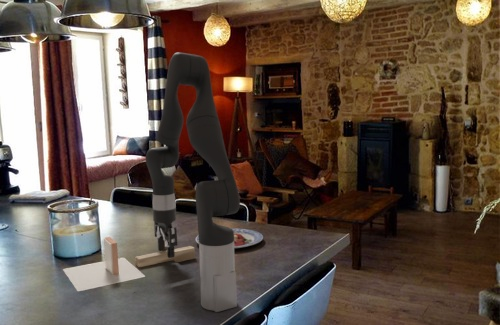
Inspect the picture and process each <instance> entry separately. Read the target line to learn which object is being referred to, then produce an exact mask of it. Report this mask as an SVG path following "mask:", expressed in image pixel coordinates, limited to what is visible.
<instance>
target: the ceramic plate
mask: <svg viewBox="0 0 500 325" xmlns="http://www.w3.org/2000/svg"><path fill="white" fill-rule="evenodd" d="M230 228H231V227H230ZM231 229H232V230H233V232H234V250H236V249H241V248H246V247H250V246H254V245H257V244H259V243H261V241H263V239H264V236H263V235H262V233H261V232H258V231H256V230H251V229H247V228H246V229H245V228H234V227H233V228H231ZM195 242H196V243H197V244H198V245H199V234H198V235H197V236H196V237H195Z"/></svg>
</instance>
